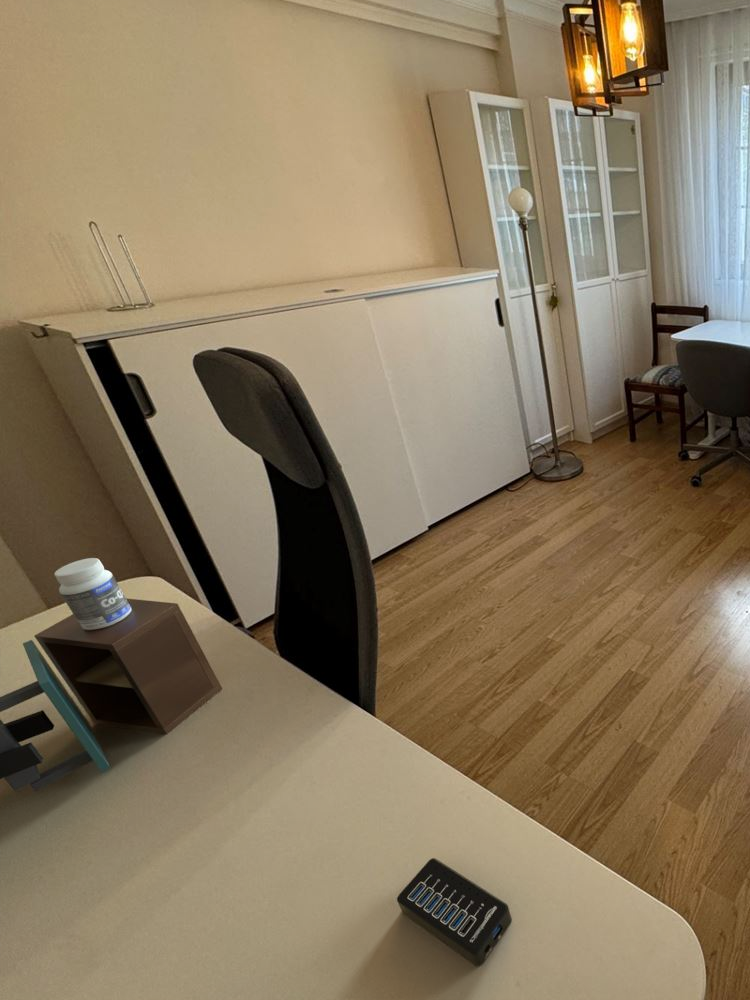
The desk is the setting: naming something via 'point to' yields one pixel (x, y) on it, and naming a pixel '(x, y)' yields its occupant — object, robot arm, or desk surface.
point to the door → (70, 712)
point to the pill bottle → (92, 594)
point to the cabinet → (134, 667)
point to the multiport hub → (455, 911)
